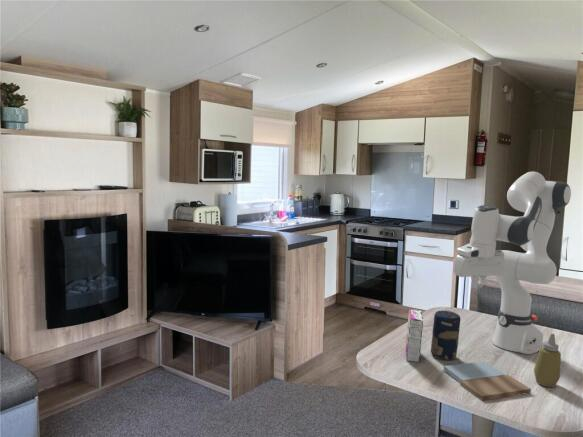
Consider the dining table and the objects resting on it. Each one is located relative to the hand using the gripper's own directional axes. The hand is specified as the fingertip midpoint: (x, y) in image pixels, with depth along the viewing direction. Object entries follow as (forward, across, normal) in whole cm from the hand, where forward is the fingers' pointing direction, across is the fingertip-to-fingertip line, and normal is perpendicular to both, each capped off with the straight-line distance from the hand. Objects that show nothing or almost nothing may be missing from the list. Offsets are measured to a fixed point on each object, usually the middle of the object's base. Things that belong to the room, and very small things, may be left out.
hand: (477, 287), depth 173 cm
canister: (+29, +6, -7) cm, 31 cm away
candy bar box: (+29, +18, -10) cm, 36 cm away
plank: (+29, +5, +9) cm, 31 cm away
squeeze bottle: (+29, -16, +20) cm, 39 cm away
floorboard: (+29, +5, +19) cm, 35 cm away
